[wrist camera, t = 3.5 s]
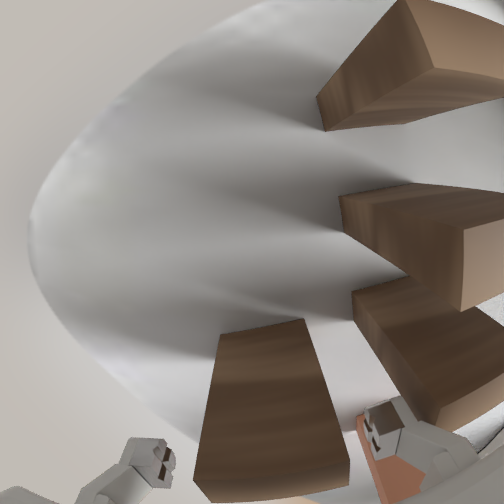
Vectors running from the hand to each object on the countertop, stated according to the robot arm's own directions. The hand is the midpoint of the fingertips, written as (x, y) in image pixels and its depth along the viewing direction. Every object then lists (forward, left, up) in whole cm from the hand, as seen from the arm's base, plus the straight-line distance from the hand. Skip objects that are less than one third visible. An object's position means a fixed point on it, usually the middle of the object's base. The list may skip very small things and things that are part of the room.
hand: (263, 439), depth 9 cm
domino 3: (+6, -8, -8) cm, 13 cm away
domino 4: (+1, -8, -8) cm, 11 cm away
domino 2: (+12, -8, -8) cm, 16 cm away
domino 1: (0, 0, -8) cm, 8 cm away
